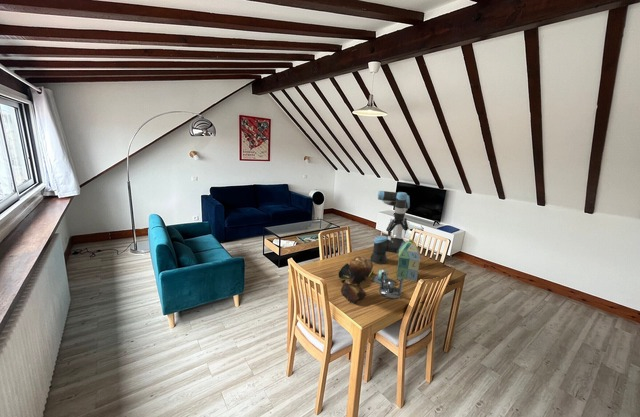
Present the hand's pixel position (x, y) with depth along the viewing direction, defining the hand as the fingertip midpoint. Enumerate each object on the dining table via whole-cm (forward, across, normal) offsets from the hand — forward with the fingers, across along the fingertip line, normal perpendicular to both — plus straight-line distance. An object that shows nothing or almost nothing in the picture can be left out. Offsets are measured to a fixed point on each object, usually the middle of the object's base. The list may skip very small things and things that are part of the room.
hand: (396, 238), depth 216 cm
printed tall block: (+35, +17, 0) cm, 39 cm away
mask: (+35, -27, +13) cm, 46 cm away
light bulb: (+34, -9, 0) cm, 35 cm away
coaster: (+35, -9, 0) cm, 36 cm away
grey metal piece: (+35, -14, -17) cm, 41 cm away
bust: (+35, -40, -8) cm, 54 cm away
